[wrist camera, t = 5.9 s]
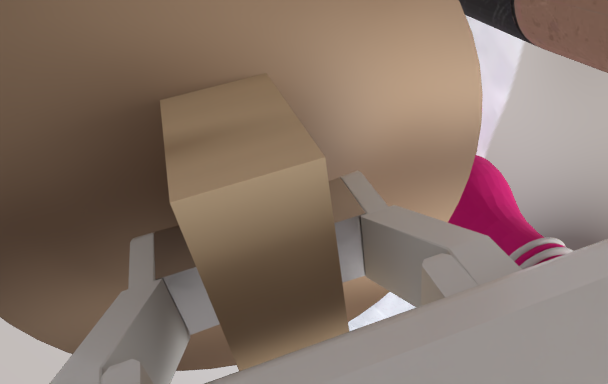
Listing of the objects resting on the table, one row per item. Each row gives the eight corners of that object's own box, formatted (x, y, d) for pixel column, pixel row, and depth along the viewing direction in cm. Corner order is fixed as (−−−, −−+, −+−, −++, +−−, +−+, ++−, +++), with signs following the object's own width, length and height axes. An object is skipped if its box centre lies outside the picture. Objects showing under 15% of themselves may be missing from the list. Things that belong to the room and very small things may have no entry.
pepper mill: (373, 199, 37) (547, 427, 21) (414, 122, 34) (652, 321, 18) (438, 211, 40) (632, 418, 24) (480, 142, 37) (733, 327, 21)
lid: (452, 273, 17) (539, 379, 14) (88, 401, 15) (71, 571, 11) (488, -193, 9) (737, -255, 5) (-298, -60, 7) (-830, -1, 3)
